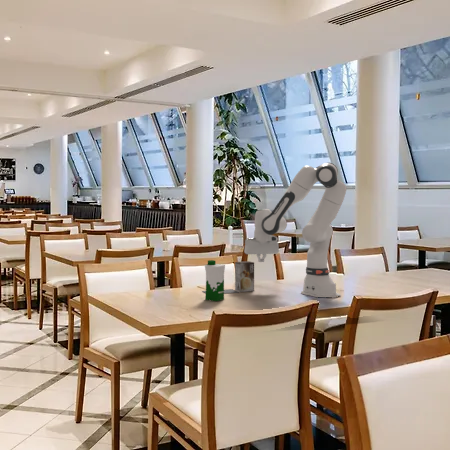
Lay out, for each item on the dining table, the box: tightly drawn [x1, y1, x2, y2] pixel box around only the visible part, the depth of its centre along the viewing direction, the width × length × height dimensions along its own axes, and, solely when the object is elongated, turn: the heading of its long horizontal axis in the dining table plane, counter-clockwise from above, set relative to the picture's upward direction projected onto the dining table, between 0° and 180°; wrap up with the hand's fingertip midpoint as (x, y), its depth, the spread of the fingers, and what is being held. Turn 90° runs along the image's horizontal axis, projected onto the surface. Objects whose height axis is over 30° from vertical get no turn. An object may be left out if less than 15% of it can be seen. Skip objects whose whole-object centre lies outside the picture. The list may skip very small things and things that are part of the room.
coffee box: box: [234, 260, 255, 293], centre depth 326 cm, size 9×6×16 cm
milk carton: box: [204, 259, 226, 302], centre depth 298 cm, size 9×9×20 cm
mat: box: [201, 288, 240, 295], centre depth 321 cm, size 10×18×1 cm, turn 113°
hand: (261, 261), depth 330 cm, fingers closed
